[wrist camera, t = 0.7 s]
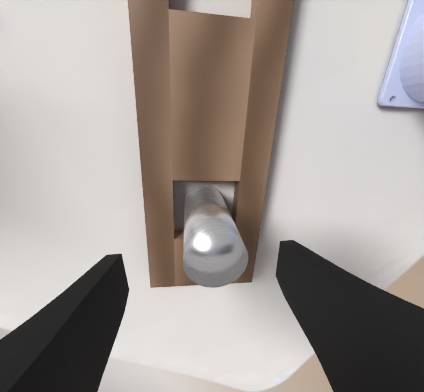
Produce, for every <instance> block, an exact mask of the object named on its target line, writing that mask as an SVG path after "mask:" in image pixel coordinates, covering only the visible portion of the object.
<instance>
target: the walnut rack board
mask: <svg viewBox="0 0 424 392" xmlns="http://www.w3.org/2000/svg"><path fill="white" fill-rule="evenodd" d="M293 5H294V0H252V6H251V16H250V18H242V17H233V16H224V15H216V14H207V13H198V12H190V11H181V10H173V9H170V0H128V9H129V21H130V34H131V46H132V59H133V72H134V84H135V97H136V109H137V122H138V134H139V147H140V160H141V172H142V185H143V197H144V210H145V223H146V235H147V248H148V260H149V273H150V286H151V288H152V287H170V286H189V285H198V284H196V283H194V282H193V281H192V280H190V279H189V277H188V276H187V275H186V273H185V271H184V267H183V250H184V230H181V231H175V213H174V180H186V181H235V190H234V201H233V212H232V219H233V221H234V223H235V225H236V228H237V230H238V232H239V234H240V236H241V238H242V241H243V243H244V245H245V247H246V249H247V252H248V263H247V266H246V269H245V271H244V272H243V273H242V275H241V276H240V277H239V278H238V279H236V280H235V281H233V282H232V283H245V282H252V278H253V271H254V264H255V258H256V251H257V244H258V238H259V231H260V224H261V218H262V211H263V204H264V198H265V191H266V184H267V178H268V171H269V165H270V158H271V151H272V145H273V138H274V131H275V125H276V118H277V111H278V105H279V98H280V91H281V85H282V78H283V71H284V65H285V58H286V52H287V45H288V38H289V32H290V25H291V18H292V12H293Z"/></svg>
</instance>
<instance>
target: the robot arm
mask: <svg viewBox="0 0 424 392" xmlns="http://www.w3.org/2000/svg"><path fill="white" fill-rule="evenodd" d="M390 98H391V101H390ZM378 104H379V105H380V106H390V107H405V108H421V109H424V0H408V4H407V7H406V10H405V13H404V16H403V20H402V23H401V26H400V29H399V33H398V36H397V39H396V42H395V46H394V49H393V52H392V55H391V59H390V62H389V65H388V68H387V72H386V75H385V78H384V81H383V85H382V88H381V91H380V94H379V98H378ZM276 277H277V280H278V283H279V285H280V288H281V290H282V292H283V295H284V297H285V299H286V301H287V302H288V304H289V306H290V308H291V310H292V312H293V313H294V315H295V317H296V319H297V321H298V322H299V324H300V326H301V328H302V329H303V331H304V333H305V335H306V337H307V338H308V340H309V342H310V344H311V346H312V347H313V349H314V351H315V353H316V355H317V357H318V359H319V361H320V363H321V365H322V367H323V370H324V372H325V374H326V376H327V378H328V380H329V383H330V385H331V387H332V389H333V392H424V309H423V308H421V307H419V306H417V305H414V304H412V303H409V302H408V301H405V300H403V299H401V298H399V297H397V296H394V295H392V294H390V293H388V292H386V291H384V290H382V289H380V288H378V287H376V286H373V285H371V284H370V283H368V282H366V281H364V280H362V279H360V278H358V277H356V276H354V275H353V274H351V273H349V272H347V271H345V270H343V269H342V268H340V267H338V266H336V265H335V264H333V263H331V262H330V261H328V260H326V259H324V258H323V257H321V256H319V255H318V254H316V253H314V252H313V251H311V250H309V249H308V248H306V247H304V246H303V245H301V244H299V243H297V242H295V241H293V240H288V241H280V247H279V254H278V262H277V270H276ZM128 293H129V287H128V282H127V278H126V273H125V268H124V263H123V259H122V254H113V255H106V256H105V257H104V258H102V259H101V260H100V261H99V262H98V263H96V264H95V265H94V266H93V267H92V268H91V269H90V270H88V271H87V272H86V273H85V274H84V275H83V276H81V277H80V278H79V279H78V280H77V281H76V282H74V283H73V284H72V285H71V286H70V287H69V288H67V289H66V290H65V291H64V292H63V293H61V294H60V295H59V296H58V297H56V298H55V299H54V300H53V301H51V302H50V303H49V304H47V305H46V306H45V307H44V308H42V309H41V310H40V311H39V312H37V313H36V314H35V315H34V316H32V317H31V318H30V319H28V320H27V321H26V322H24V323H23V324H22V325H20V326H19V327H17V328H16V329H15V330H13V331H12V332H11V333H9V334H8V335H6V336H5V337H3V338H2V339H1V340H0V392H97V391H98V388H99V385H100V382H101V378H102V375H103V373H104V370H105V367H106V364H107V361H108V358H109V355H110V353H111V350H112V347H113V344H114V341H115V338H116V335H117V333H118V330H119V327H120V324H121V321H122V318H123V315H124V311H125V307H126V302H127V298H128Z"/></svg>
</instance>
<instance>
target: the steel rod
mask: <svg viewBox="0 0 424 392" xmlns="http://www.w3.org/2000/svg"><path fill="white" fill-rule="evenodd" d="M247 263H248V252H247V249H246V247H245V245H244V243H243V241H242V238H241V236H240V234H239V232H238V230H237V228H236V225H235V223H234V221H233V219H232V217H231V214H230V212H229V210H228V208H227V206H226V203H225V201H224V199H223V197H222V195H221V193H220V192H219V191H218V190H217V189H215V188H214V187H211V186H198V187H196V188H194V189H192V190H191V191H190V192H189V193H188V195H187V196H186V199H185V204H184V250H183V267H184V271H185V273H186V275H187V276H188V277H189V279H190V280H192V281H193V282H194V283H196V284H198V285H201V286H204V287H221V286H224V285H227V284H230V283H232V282H233V281H235V280H236V279H238V278H239V277H240V276H241V275H242V273H243V272H244V271H245V269H246V266H247Z"/></svg>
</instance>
